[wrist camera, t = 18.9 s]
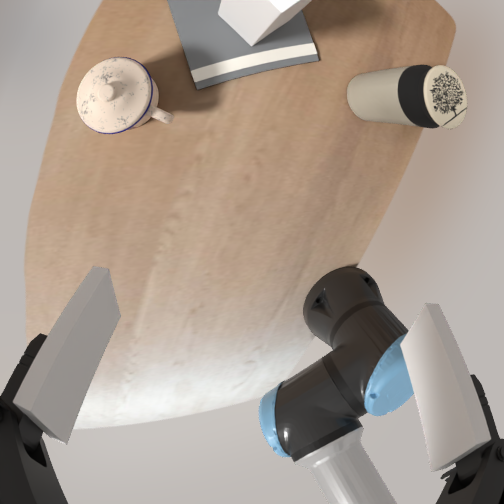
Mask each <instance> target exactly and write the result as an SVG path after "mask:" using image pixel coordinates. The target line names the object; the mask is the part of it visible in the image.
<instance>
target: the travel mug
mask: <svg viewBox="0 0 504 504" xmlns="http://www.w3.org/2000/svg"><path fill="white" fill-rule="evenodd" d="M347 100H348V103H349V106H350V108H351V110H352V111H353V112H354V113H355V115H357V116H358V117H359V118H361V119H363V120H365V121H373V122H384V123H394V124H403V125H411V126H419V127H426V128H437V127H439V126H441V127H443V128H446V129H453V128H456V127H458V126H459V125H460V124H461V123H462V121H463V119H464V117H465V114H466V110H467V96H466V91H465V88H464V86H463V83H462V81H461V79H460V78H459V76H458V75H457V74H456V73H455V72H454V71H453V70H452V69H450V68H448V67H447V66H443V65H437V66H435V67H431V66H428V65H416V66H407V67H400V68H393V69H386V70H380V71H374V72H368V73H363V74H359V75H357V76H355V77H354V78H353V79H352V80H351V81H350V83H349V85H348V88H347Z"/></svg>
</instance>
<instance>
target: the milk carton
mask: <svg viewBox="0 0 504 504" xmlns="http://www.w3.org/2000/svg"><path fill="white" fill-rule="evenodd" d="M311 1H312V0H221V4H220V7H219V11H218V15H219V16H220V17H221V18H222V19H223V20H224V21H226V22H227V23H228V24H229V25H230V26H231V27H232V28H233V29H234V30H235V31H236V32H237V33H238V34H239V35H240V36H241V37H242V38H243V39H244V40H245V41H246V42H247V43H248V44H249V45H250V46H253V45H255V44H256V43H257V42H259V41H260V40H262V39H263V38H264V37H266V36H267V35H269V34H270V33H272V32H273V31H275V30H276V29H278V28H279V27H281V26H282V25H284V24H285V23H287V22H288V21H289V20H290V19H291V18H293V17H294V16H295V15H296V14H297V13H298V12H299V11H300V10H302V9H303V8H304V7H305V6H306V5H307V4H308V3H310V2H311Z"/></svg>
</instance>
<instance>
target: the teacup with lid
mask: <svg viewBox="0 0 504 504" xmlns="http://www.w3.org/2000/svg"><path fill="white" fill-rule="evenodd" d="M158 100H159V93H158V88H157V85H156V83H155V82H154V80H153V79H152V78H151V76H150V74H149V72H148V71H147V69H146V68H145V67H144V66H143V65H142V64H141V63H139V62H138V61H136V60H134V59H131V58H127V57H114V58H110V59H107V60H104V61H102V62H100V63H98V64H97V65H95V66H94V67H93V68H92V69H91V70H90V71H89V72H88V73H87V74H86V75H85V77H84V78H83V80H82V82H81V84H80V86H79V89H78V93H77V108H78V112H79V115H80V117H81V119H82V120H83V122H84V123H85V124H86V125H87V126H88V127H89V128H91V129H92V130H94V131H96V132H99V133H103V134H115V133H120V132H123V131H126V130H130V129H134V128H137V127H139V126H141V125H143V124H144V123H145V122H147V121H148V120H149V119H150V118H151V117H153V118H155V119H157V120H159V121H162V122H164V123H167V124H170V123H171V122H172V121H173V119H174V116H173V115H172V114H170V113H168V112H166V111H164V110H161V109H159V108H157V105H158Z"/></svg>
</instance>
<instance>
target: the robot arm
mask: <svg viewBox="0 0 504 504" xmlns="http://www.w3.org/2000/svg"><path fill="white" fill-rule="evenodd" d="M303 315H304V319H305V322H306V324H307V325H308V327H309V329H310V330H311V332H312V333H313V334H314V335H315V336H317V337H318V338H319V339H321V340H322V341H324V342H325V343H327V344H328V345H329V346H331V347H332V349H333V351H331V352H330V353H328V354H327V355H326V356H324V357H322V358H321V359H319V360H318V361H316V362H315V363H313V364H312V365H310V366H309V367H307V368H306V369H304V370H302V371H301V372H299V373H298V374H296V375H295V376H293V377H291V378H290V379H288V380H286V381H283V382H281V383H280V384H279V385H278V386H277V387H275V388H274V389H272V390H271V391H269V392H268V393H266V394H265V395H264V396H263V398H262V399H261V402H260V406H259V420H260V425H261V428H262V431H263V434H264V436H265V439H266V440H267V442H268V444H269V445H270V446H272V447H273V450H274V452H275V453H277V454H278V455H280V456H282V457H292V459H293V461H294V462H295V464H296V465H299V466H302V467H306V468H308V469H309V470H310V471H311V473H312V475H313V477H314V479H315V481H316V482H317V484H318V486H319V487H320V490H321V491H322V493H323V495H324V497H325V498H326V500H327V502H328V504H397V503H396V501H395V500H394V498H393V496H392V495H391V493H390V492H389V490H388V488H387V486H386V485H385V483H384V481H383V480H382V478H381V477H380V475H379V473H378V471H377V470H376V468H375V466H374V465H373V463H372V461H371V460H370V458H369V456H368V455H367V453H366V451H365V450H364V448H363V446H362V445H361V442H360V439H361V436H362V432H363V429H364V428H363V426H362V425H361V423H360V421H359V420H358V418H359V417H361V416H363V415H364V414H366V413H367V412H368V413H370V414H372V415H375V416H381V415H385V414H387V412H392V411H394V410H395V409H397V408H398V407H400V406H401V405H403V404H404V403H405V402H406V401H407V400H408V399H409V398H410V397H411V396H412V395H413V394H415V398H416V402H417V406H418V410H419V414H420V419H421V423H422V427H423V432H424V436H425V441H426V446H427V451H428V457H429V462H430V468H431V472H434V471H438V470H441V469H444V468H447V467H449V466H450V465H452V464H454V463H456V467H455V468H453V469H451V470H450V471H448V472H446V473H445V474H443V475H442V477H441V479H444V478H445V477H447V476H449V475H450V477H448V478H447V479H446V480H445V481H446V482H447V483H446V485H445V487H444V489H443V491H442V493H441V495H440V497H439V499H438V501H437V502H436V504H504V439H500V438H499V435H498V432H497V429H496V426H495V422H494V419H493V416H492V413H491V410H490V407H489V405H488V401H487V398H486V397H485V393H484V390H483V387H482V385H481V383H480V382H479V380H478V379H477V378H476V376H475V375H470V374H469V371H468V369H467V366H466V364H465V361H464V359H463V356H462V354H461V352H460V349H459V347H458V344H457V342H456V340H455V338H454V335H453V333H452V331H451V329H450V327H449V325H448V322H447V321H446V319H445V316H444V315H443V312H442V310H441V308H440V306H439V304H430V303H425V305H424V306H423V308H422V310H421V312H420V313H419V315H418V317H417V318H416V320H415V322H414V323H413V325H412V327H411V328H410V330H409V331H408V330H407V328H406V327H405V326H404V325H403V324H402V323H401V322H400V321H399V320H398V319H397V318H396V317H395V315H394V314H393V313H392V312H391V311H390V310H389V309H388V308H387V307H386V306H385V305H384V302H383V299H382V296H381V294H380V291H379V288H378V286H377V284H376V282H375V281H374V279H373V278H372V277H371V276H370V275H369V274H368V273H367V272H365V271H363V270H362V269H359V268H355V267H345V268H340V269H337V270H335V271H332V272H330V273H329V274H327V275H325V276H324V277H323V278H321V279H320V280H319V281H318V282H317V283H316V284H315V285H314V286H313V287H312V289H311V290H310V292H309V293H308V295H307V297H306V300H305V303H304V308H303ZM120 317H121V314H120V311H119V307H118V303H117V300H116V296H115V292H114V288H113V284H112V280H111V276H110V271H109V269H108V268H102V267H96V266H93V267H92V269H91V270H90V271H89V273H88V274H87V276H86V277H85V279H84V280H83V282H82V283H81V284H80V286H79V287H78V289H77V290H76V292H75V293H74V295H73V296H72V298H71V299H70V301H69V302H68V304H67V306H66V307H65V309H64V310H63V312H62V313H61V315H60V317H59V318H58V320H57V321H56V323H55V325H54V326H53V328H52V330H51V331H50V333H49V335H48V336H47V335H44V334H41V333H40V334H39V335H38V336H37V337H36V338H34V339H33V340H32V341H31V342H30V344H29V345H28V347H27V349H26V351H25V352H24V355H23V356H22V357H21V359H20V361H19V364H18V365H17V366H16V368H15V370H14V372H13V374H12V376H11V377H10V379H9V381H8V383H7V385H6V387H5V389H4V391H3V393H2V395H1V396H0V504H68V502H67V500H66V498H65V496H64V494H63V491H62V489H61V486H60V484H59V482H58V479H57V477H56V474H55V472H54V469H53V466H52V464H51V461H50V458H49V455H48V452H47V449H46V446H45V443H44V441H43V439H42V437H41V436H42V433H43V432H45V433H46V434H47V435H48V436H49V437H50V438H53V439H55V440H57V441H59V442H61V443H64V444H66V445H67V443H68V440H69V438H70V435H71V432H72V429H73V427H74V424H75V421H76V419H77V416H78V413H79V411H80V408H81V406H82V403H83V401H84V398H85V396H86V393H87V391H88V388H89V386H90V383H91V381H92V379H93V376H94V374H95V372H96V369H97V367H98V365H99V362H100V360H101V358H102V356H103V353H104V351H105V349H106V347H107V345H108V342H109V340H110V338H111V336H112V334H113V332H114V330H115V327H116V325H117V323H118V321H119V319H120Z"/></svg>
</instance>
